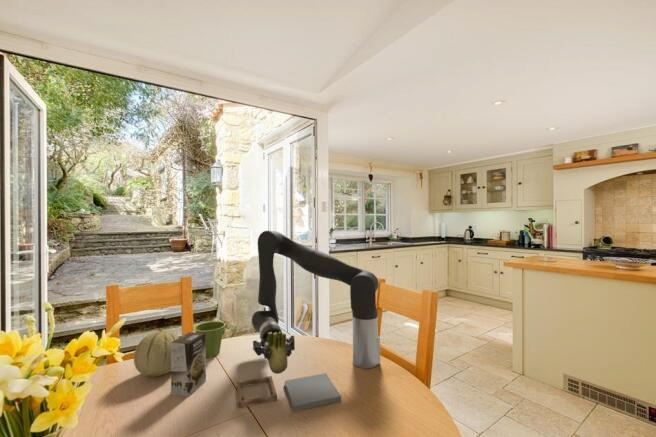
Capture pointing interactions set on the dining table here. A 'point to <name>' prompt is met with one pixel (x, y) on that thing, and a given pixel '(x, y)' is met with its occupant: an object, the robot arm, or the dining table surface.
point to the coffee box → (188, 363)
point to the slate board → (311, 391)
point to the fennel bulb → (277, 352)
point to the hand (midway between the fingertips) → (278, 354)
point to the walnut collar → (259, 399)
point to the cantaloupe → (154, 354)
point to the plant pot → (211, 336)
